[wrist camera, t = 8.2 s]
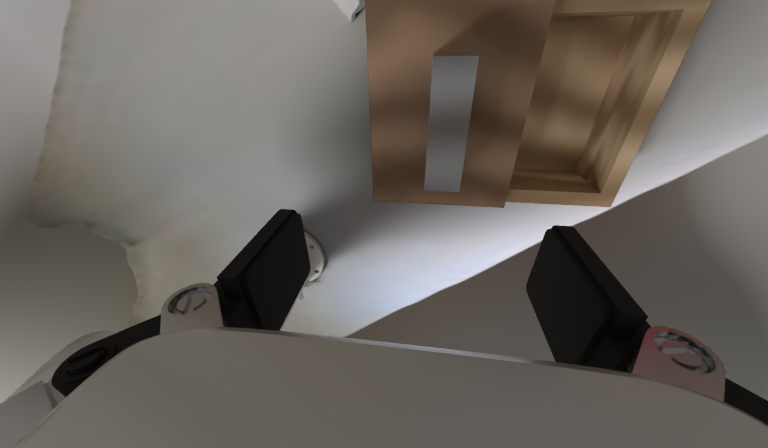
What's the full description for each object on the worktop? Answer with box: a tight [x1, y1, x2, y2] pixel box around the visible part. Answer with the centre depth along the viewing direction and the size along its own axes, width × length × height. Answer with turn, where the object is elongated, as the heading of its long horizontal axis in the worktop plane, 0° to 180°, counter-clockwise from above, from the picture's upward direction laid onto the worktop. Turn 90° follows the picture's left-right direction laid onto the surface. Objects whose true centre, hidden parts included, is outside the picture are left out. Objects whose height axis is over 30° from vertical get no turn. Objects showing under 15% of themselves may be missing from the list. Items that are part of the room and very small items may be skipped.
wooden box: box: [505, 0, 712, 207], centre depth 28 cm, size 18×14×7 cm
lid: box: [365, 0, 556, 208], centre depth 24 cm, size 18×14×6 cm
